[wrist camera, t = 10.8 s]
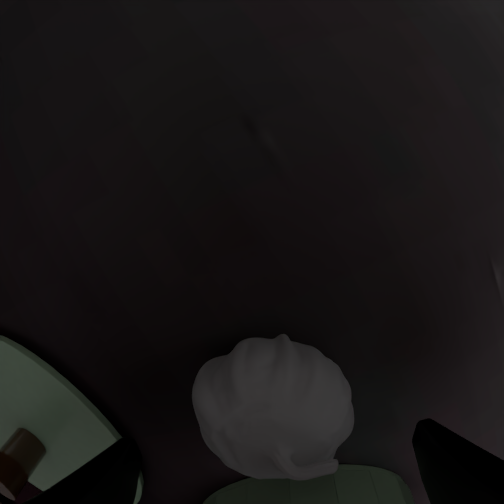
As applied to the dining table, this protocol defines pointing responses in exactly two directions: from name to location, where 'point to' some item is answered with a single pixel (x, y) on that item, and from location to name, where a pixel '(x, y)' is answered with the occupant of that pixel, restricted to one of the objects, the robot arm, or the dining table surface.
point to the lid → (45, 424)
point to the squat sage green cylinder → (320, 489)
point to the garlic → (274, 409)
